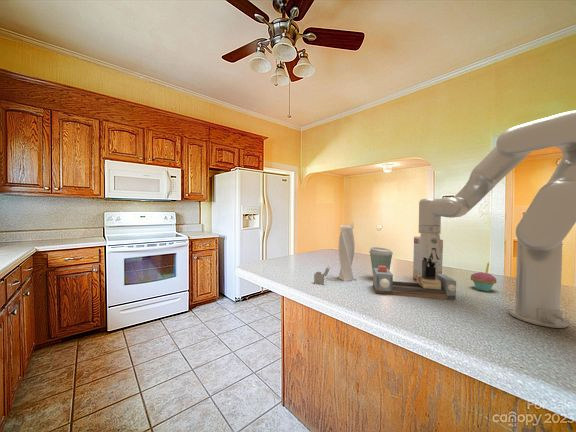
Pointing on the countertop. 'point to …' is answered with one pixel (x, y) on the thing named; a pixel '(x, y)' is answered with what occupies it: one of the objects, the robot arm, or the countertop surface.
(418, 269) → the cracker box
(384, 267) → the button
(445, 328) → the countertop surface
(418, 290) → the track
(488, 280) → the cupcake
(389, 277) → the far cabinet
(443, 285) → the grey rectangular block
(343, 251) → the skyscraper
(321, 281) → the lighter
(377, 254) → the disposable coffee cup
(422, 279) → the carriage
